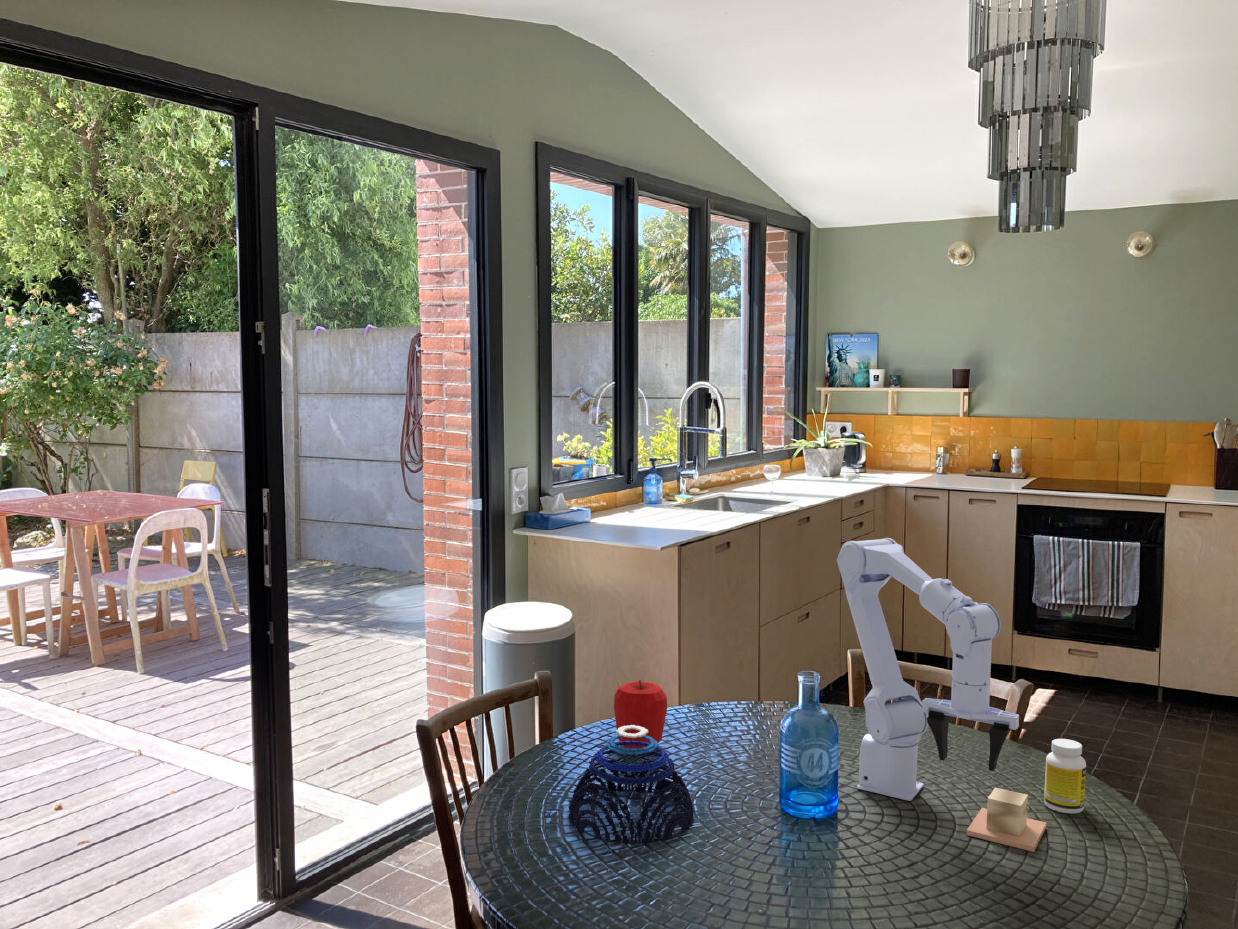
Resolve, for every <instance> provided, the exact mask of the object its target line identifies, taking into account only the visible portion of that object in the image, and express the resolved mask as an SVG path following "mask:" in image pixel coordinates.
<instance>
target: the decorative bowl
mask: <svg viewBox="0 0 1238 929" xmlns="http://www.w3.org/2000/svg"><path fill="white" fill-rule="evenodd" d="M627 729H629V730H630V729H636V730H639V731H640V732H638V733H636V734H634V733H633V734H631V733H626V732H624V731H625V730H627ZM615 733H618V734H617V735H614V736H611V737H609V738H608V739H607V741H606V742H605V745H604V746H602V747H600V748H599V749H598V750H597V752H596V753H595V756H592V758H591V759H590V761H588V764H589V765H588V768H586V769H585V772H583V775H582V776H581V777H580V779H579V780H578V782H577V785H576V786H575V788H574V789H573V794H572V798H571V799H570V801H569V806H568V810H569V814H568V815H569V816H568V817H569V821H570V822H571V824H572V826H573V825H574V826H575V829H577V831H579V832H581V833H584V834H586V835H588V836H591V837H593V838H596V839H598V840H602V841H606V842H611V843H616V844H618V843H619V844H620V843H621V844H632V845H634V844H638V845H639V844H640V845H641V844H650V843H656V842H657V843H659V842H660V841H665V840H669V839H671V838H675V837H677V836H679V835H681V834H683V833H685V831H686V830H688V828H690V826H691V825H693V821H694V813H695V812H694V805H693V799H692V798H691V793H690V791H689V788H688V787H687V785H686V783H685V782H684V781H683V777H682V776H681V775H679V773H678V771H676V770H675V762H674V761H673V760H672V758H670V757H669V754H668V752H667V751H665V750H664V749H663V748H662V747H660V746H659V743H658V742H657V741H656V740H654V739H653V738H652V737H649V736H646V734H647V733H648V729H645V728H644V727H641V726H635V725H629V726H628V725H627V726H622V727H620V728H618V730H617V729H616V730H615ZM622 737H631V738H636V737H640V738H646V740H649V741H650V743H648V742H641V741H640V742H638V741H633V740H631V741H629V740H627V741H622V742H620V741H616V740H618V739H619V738H622ZM624 745H625V746H626V745H636V746H637V745H641V746H646V747H642V748H629V747H628V748H625V747H624ZM620 746H621V747H620ZM622 746H623V747H622ZM607 749H608V750H607ZM656 750H657V751H656ZM611 754H622V755H623V754H624V755H628V756H630V755H631V756H633V755H636V756H637V755H642V754H650V755H653V756H657V757H658V758H657V759H654V760H652V759H647V760H643V761H640V762H639V763H638V764H637V763H635V764H633V763H631V764H630V763H629V764H626V763H622V762H620V761H618V760H616V759H614V758H611V759H607V757H606V756H604V755H608V756H609V755H611ZM667 763H668V764H667ZM605 768H606V769H607V771H609V772H610V773H612V774H609V773H608V772H607V771H606V769H605ZM619 773H620V774H621V775H623V776H620V775H619ZM629 773H630V774H629ZM648 773H649V774H648ZM604 780H605V781H606V784H605V781H604ZM594 781H596V782H597V783H595V782H594ZM598 783H600V784H598ZM654 783H655V785H654ZM616 784H617V785H616ZM622 785H624V786H622ZM653 785H654V789H653ZM647 786H648V787H647ZM600 791H601V792H600ZM625 791H629V792H630V791H632V792H645V793H646V792H647V793H650V794H651V793H652V795H651V796H649V798H648V800H647V801H646V802H645V804H644V805H643V808H642V809H641V812H640V814H639V815H638V817H639V818H637V822H636V826H635V828H634V825H635V822H634V818H632V817H633V814H631V812H630V810H629V806H628V804H625V801H624V799H622V798H620V797H619V794H618V792H625ZM605 793H609V794H610V796H612V797H614V799H616V801H617V802H618V803H616V802H614V800H612V798H611V797H610V796H605V795H603V794H605ZM594 796H596V797H599V798H601V799H603V801H604V802H606V803H605V804H604V803H603V801H600V800H597V799H595V798H593V797H594ZM584 797H585V798H584ZM672 800H673V801H674V802H673V803H670V804H667V803H668V802H670V801H672ZM655 803H657V805H656V806H655V808H654V809H653V811H652V812H651V813H650V809H651V808H653V806H654V804H655ZM678 804H679V806H676V805H678ZM680 804H681V805H680ZM585 805H595V806H597V808H598V809H600V810H601V811H602V812H603V814H605V816H604V819H605V820H606V822H607V824H608V826H610V827H612V828H611V829H610V830H611V831H610V832H612V836H614V839H613V838H612V839H611V834H610V832H609V831H608V827H607V825H606V823H605V821H604V819H603V818H602V817H601V815H600V814H599V813H597V812H596V811H592V810H591V809H589V808H588V809H584V810H581V812H579V811H580V808H581V807H583V806H585ZM605 805H608V807H609V809H608V807H606V806H605ZM668 808H671V810H669V811H667V809H668ZM619 809H620V811H621V812H622V813H621V812H620V811H619ZM609 810H610V811H611V812H612V813H613V814H614V817H615V818H616V819H617V821H619V822H618V825H619V829H621V830H620V834H619V830H617V826H616V823H614V820H613V818H612V817H611V814H610V812H609ZM665 811H667V812H666V814H664V813H665ZM676 811H679V812H677V813H675V814H673V813H674V812H676ZM649 813H650V814H651V815H650V816H649ZM672 814H673V815H672ZM587 815H590V816H592V817H595V818H596V819H597V820H598V822H599V824H600V825H602V830H603V831H604V837H602V835H601V829H600V827H599V826H598V825H597V823H596V822H595V821H592V820H590V819H588V818H583V817H585V816H587ZM648 816H649V818H648ZM661 817H663V818H662V819H661ZM582 818H583V819H582ZM647 818H648V821H647V825H646V829H645V832H644V826H643V825H645V823H646V819H647ZM623 819H625V821H626V823H627V824H629V826H627V825H626V824H625V823H624V820H623ZM660 819H661V821H660ZM667 819H668V821H667ZM653 821H654V822H653ZM659 821H660V823H659ZM666 822H667V823H666ZM658 823H659V824H658ZM664 825H665V827H664ZM678 826H679V827H680V830H678V831H677V832H674V831H675V830H676V828H677V827H678ZM587 827H590V828H591V830H592V831H593V834H591V833H589V832H587V831H586V830H585V829H586V828H587ZM627 828H628V830H627ZM663 828H664V829H663ZM635 829H636V833H635ZM627 831H629V835H630V838H628V835H626V834H627ZM651 831H652V832H651ZM643 833H644V834H643ZM642 834H643V835H644V836H643V835H642ZM642 837H643V838H642Z"/></svg>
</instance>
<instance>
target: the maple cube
mask: <svg viewBox="0 0 1238 929" xmlns="http://www.w3.org/2000/svg"><path fill="white" fill-rule="evenodd" d="M1028 799H1029V795H1028V794H1026V793H1021V792H1019V791H1018V792H1017V791H1012V790H1007V789H1004V788H1001V787H1000V788H998V787H994V788H993V790H992V791H991V793H990V794H989V795H988V797H987V802H986V803H987V804H986V805H987V806H986V809H987V825H986V829H990V830H994V831H998V832H1002V833H1006V834H1010V835H1014V836H1018V837H1020V836H1021V834H1022V832H1023V830H1024V829H1025V827H1026V825H1027V818H1028V801H1029V800H1028Z"/></svg>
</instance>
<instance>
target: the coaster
mask: <svg viewBox="0 0 1238 929" xmlns="http://www.w3.org/2000/svg"><path fill="white" fill-rule="evenodd" d="M986 825H987V807H986V808H985V807H981V808H980V810H979V811H978V812H977V814H976V815H975V817H974V819H973V820H972V822H971V823H970V825H969V826H968V827H967V829H966V836H969V837H974V838H977V839H982V840H985V841H989V842H992V843H993V842H994V843H997V844H1000V845H1001V844H1002V845H1005V846H1009V847H1014V848H1017V849H1021V850H1025V851H1028V852H1033V853H1034V852H1035V851H1036V849H1037V847H1038V845H1039V842H1040V841H1041V839H1042V837H1043V835H1044V833H1045V831H1046V829H1047V822H1046V821H1045V822H1044V821H1041V820H1036V819H1032V818H1029V817H1027V825H1026V827H1025V829H1024V830H1023V832H1022V834H1021V836H1020V837H1018V836H1014V835H1010V834H1006V833H1002V832H998V831H994V830H990V829H986Z"/></svg>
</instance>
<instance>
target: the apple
mask: <svg viewBox="0 0 1238 929" xmlns="http://www.w3.org/2000/svg"><path fill="white" fill-rule="evenodd" d="M613 709H614V719H615V726H616V730H618V728H620V727H622V726H627V725H628V726H629V725H635V726H641V727H644V728H645V729H648V733H647V734H646V736H649V737H652V738H653V739H654V740H656V741H657V742H658V744H659V743H660V742H662V740H663V734H664V729H665V728H664V727H665V721H666V717H667V712H668V711H667V710H668V698H667V694H666V692H665V690H663V688H662V687H661V686H660V685H659V684H656V683H654V682H649V681H641V679H639V680H638V681H635V680H634V681H629V682H626V683H624V684H621V685H620V686H618V688H617V689H616V691H615V693H614V698H613ZM624 732H626V733H631V734H633V733H634V734H636V733H638V732H640V731H639V730H636V729H630V730H629V729H627V730H625V731H624ZM616 733H617V732H616ZM617 735H618V733H617ZM617 740H618V742H622V741H627V740H629V741H631V740H633V741H638V742H640V741H641V742H648V743H650V741H649V740H646V738H640V737H636V738H631V737H622V738H619V739H617ZM628 747H629V748H642V747H646V746H641V745H637V746H636V745H626V746H625V745H624V746H623V748H628Z"/></svg>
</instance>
